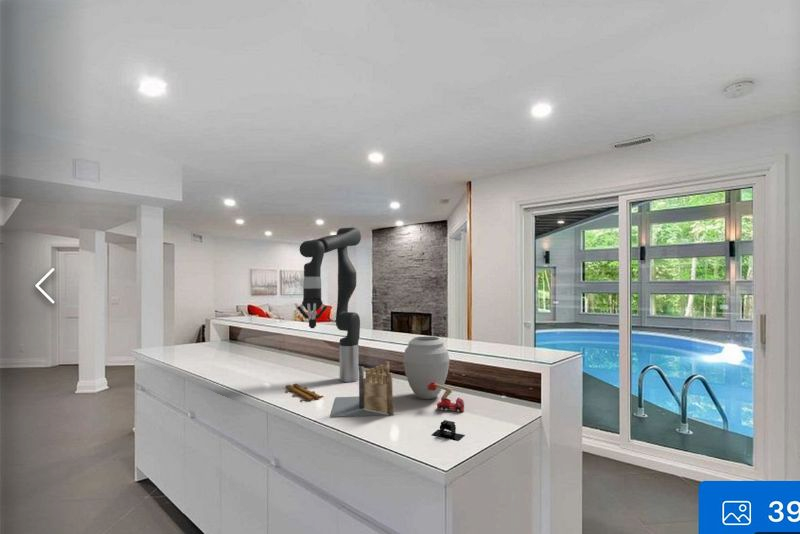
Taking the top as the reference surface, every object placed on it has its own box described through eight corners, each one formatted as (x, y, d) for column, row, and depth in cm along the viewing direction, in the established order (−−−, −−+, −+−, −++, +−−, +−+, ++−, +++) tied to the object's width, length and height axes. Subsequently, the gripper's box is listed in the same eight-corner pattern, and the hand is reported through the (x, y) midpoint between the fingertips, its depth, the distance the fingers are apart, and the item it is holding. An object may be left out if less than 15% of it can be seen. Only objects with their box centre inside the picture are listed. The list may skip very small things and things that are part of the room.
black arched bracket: (425, 437, 125) (425, 422, 125) (435, 429, 131) (435, 415, 132) (462, 445, 119) (461, 429, 119) (470, 436, 125) (470, 421, 125)
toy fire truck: (463, 413, 145) (463, 386, 146) (427, 409, 150) (427, 383, 150) (465, 410, 148) (464, 384, 149) (429, 406, 153) (429, 381, 153)
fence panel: (366, 406, 152) (366, 368, 152) (362, 405, 153) (362, 368, 153) (390, 396, 165) (390, 361, 165) (386, 395, 166) (386, 361, 166)
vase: (459, 395, 166) (458, 338, 167) (430, 407, 152) (429, 343, 153) (423, 387, 179) (422, 333, 180) (393, 397, 165) (393, 338, 166)
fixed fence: (358, 409, 150) (357, 367, 151) (361, 407, 152) (360, 366, 152) (390, 416, 143) (390, 371, 143) (393, 414, 144) (393, 370, 145)
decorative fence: (303, 404, 159) (325, 399, 165) (303, 399, 159) (325, 394, 165) (280, 390, 179) (301, 386, 185) (280, 386, 179) (301, 382, 185)
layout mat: (335, 398, 165) (335, 396, 165) (390, 396, 166) (390, 395, 167) (330, 418, 141) (330, 416, 141) (394, 415, 143) (394, 414, 143)
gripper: (328, 287, 172) (329, 326, 172) (298, 287, 171) (298, 327, 171) (327, 287, 165) (327, 329, 165) (294, 287, 164) (295, 329, 164)
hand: (312, 328), depth 168 cm, fingers closed
